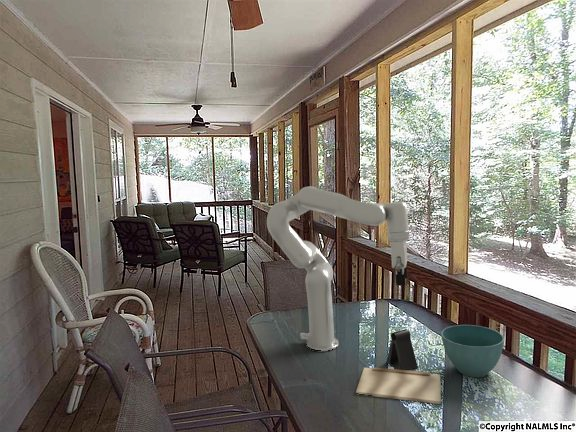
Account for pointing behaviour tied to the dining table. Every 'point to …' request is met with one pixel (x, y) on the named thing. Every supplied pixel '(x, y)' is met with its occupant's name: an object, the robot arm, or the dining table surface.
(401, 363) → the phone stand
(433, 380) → the board
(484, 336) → the plant pot
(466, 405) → the dining table surface
